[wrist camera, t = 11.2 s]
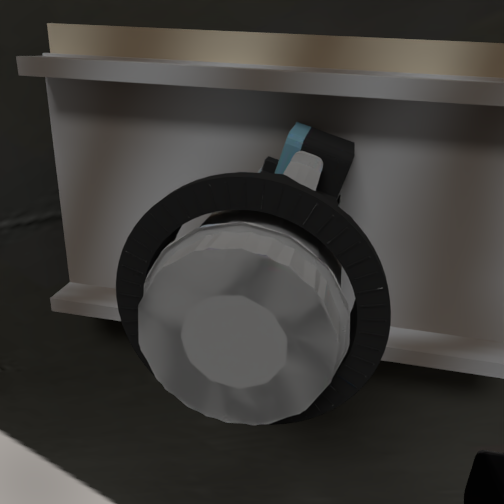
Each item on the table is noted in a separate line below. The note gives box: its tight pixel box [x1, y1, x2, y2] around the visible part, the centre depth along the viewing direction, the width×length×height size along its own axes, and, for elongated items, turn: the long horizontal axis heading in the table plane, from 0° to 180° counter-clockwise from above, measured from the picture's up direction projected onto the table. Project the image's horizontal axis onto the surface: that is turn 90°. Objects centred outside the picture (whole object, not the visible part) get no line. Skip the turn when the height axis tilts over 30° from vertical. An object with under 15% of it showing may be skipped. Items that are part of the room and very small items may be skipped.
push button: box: [116, 122, 391, 425], centre depth 13 cm, size 7×5×10 cm
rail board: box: [16, 23, 504, 379], centre depth 18 cm, size 18×12×3 cm, turn 87°
